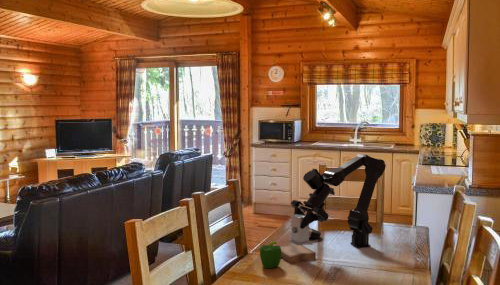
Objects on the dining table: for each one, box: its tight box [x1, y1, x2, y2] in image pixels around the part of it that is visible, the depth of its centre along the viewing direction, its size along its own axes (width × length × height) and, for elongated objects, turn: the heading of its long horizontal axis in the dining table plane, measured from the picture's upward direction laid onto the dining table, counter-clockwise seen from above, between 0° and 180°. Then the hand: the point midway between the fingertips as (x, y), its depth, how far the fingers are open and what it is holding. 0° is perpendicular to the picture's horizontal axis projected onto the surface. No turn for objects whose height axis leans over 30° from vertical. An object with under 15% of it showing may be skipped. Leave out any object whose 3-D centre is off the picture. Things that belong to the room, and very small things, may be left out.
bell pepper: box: [259, 241, 282, 269], centre depth 189 cm, size 8×8×10 cm
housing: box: [289, 213, 311, 246], centre depth 197 cm, size 6×6×11 cm
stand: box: [280, 244, 317, 264], centre depth 201 cm, size 12×12×3 cm
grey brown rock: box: [309, 226, 322, 240], centre depth 227 cm, size 7×11×10 cm
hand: (297, 226), depth 196 cm, fingers closed on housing, 5 cm apart
